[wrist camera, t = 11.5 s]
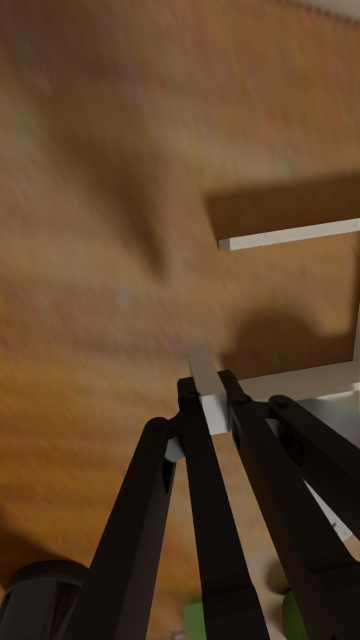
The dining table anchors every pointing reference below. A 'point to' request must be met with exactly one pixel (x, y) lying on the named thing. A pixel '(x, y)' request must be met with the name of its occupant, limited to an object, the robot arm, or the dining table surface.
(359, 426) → the grey plate
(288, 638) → the fruit
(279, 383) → the dish rack
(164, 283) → the dining table surface
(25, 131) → the dining table surface
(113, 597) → the robot arm
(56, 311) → the dining table surface
